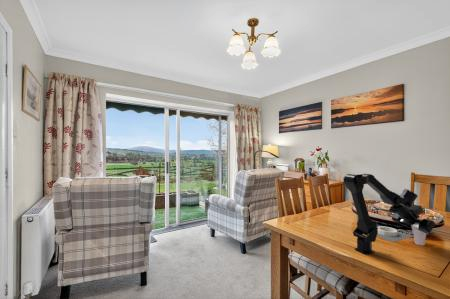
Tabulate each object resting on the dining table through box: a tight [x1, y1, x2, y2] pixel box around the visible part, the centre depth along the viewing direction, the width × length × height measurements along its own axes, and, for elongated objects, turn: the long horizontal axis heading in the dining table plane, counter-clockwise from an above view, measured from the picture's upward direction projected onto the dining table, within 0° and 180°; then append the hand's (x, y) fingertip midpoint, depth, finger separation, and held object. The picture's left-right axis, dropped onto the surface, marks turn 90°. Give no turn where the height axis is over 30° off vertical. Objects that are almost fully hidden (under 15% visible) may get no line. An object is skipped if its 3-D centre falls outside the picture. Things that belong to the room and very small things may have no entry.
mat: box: [376, 231, 414, 243], centre depth 128 cm, size 20×18×1 cm
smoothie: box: [411, 217, 427, 246], centre depth 113 cm, size 6×6×14 cm
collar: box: [377, 225, 398, 237], centre depth 128 cm, size 10×10×2 cm
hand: (421, 231), depth 114 cm, fingers closed on smoothie, 6 cm apart
